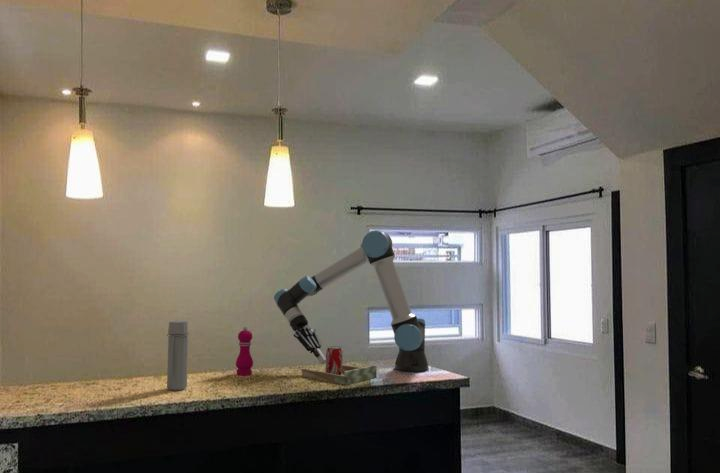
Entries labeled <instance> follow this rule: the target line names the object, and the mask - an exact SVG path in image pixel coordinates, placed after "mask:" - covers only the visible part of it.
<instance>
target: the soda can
mask: <svg viewBox="0 0 720 473" xmlns="http://www.w3.org/2000/svg"><path fill="white" fill-rule="evenodd" d="M325 358H326V361H325V373H330V374H336V375H343V372H342V365H343V349H342V347H341V346H336V345H335V346H334V345H333V346H331V345H330V346H328V347H327V349H326V352H325Z"/></svg>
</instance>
